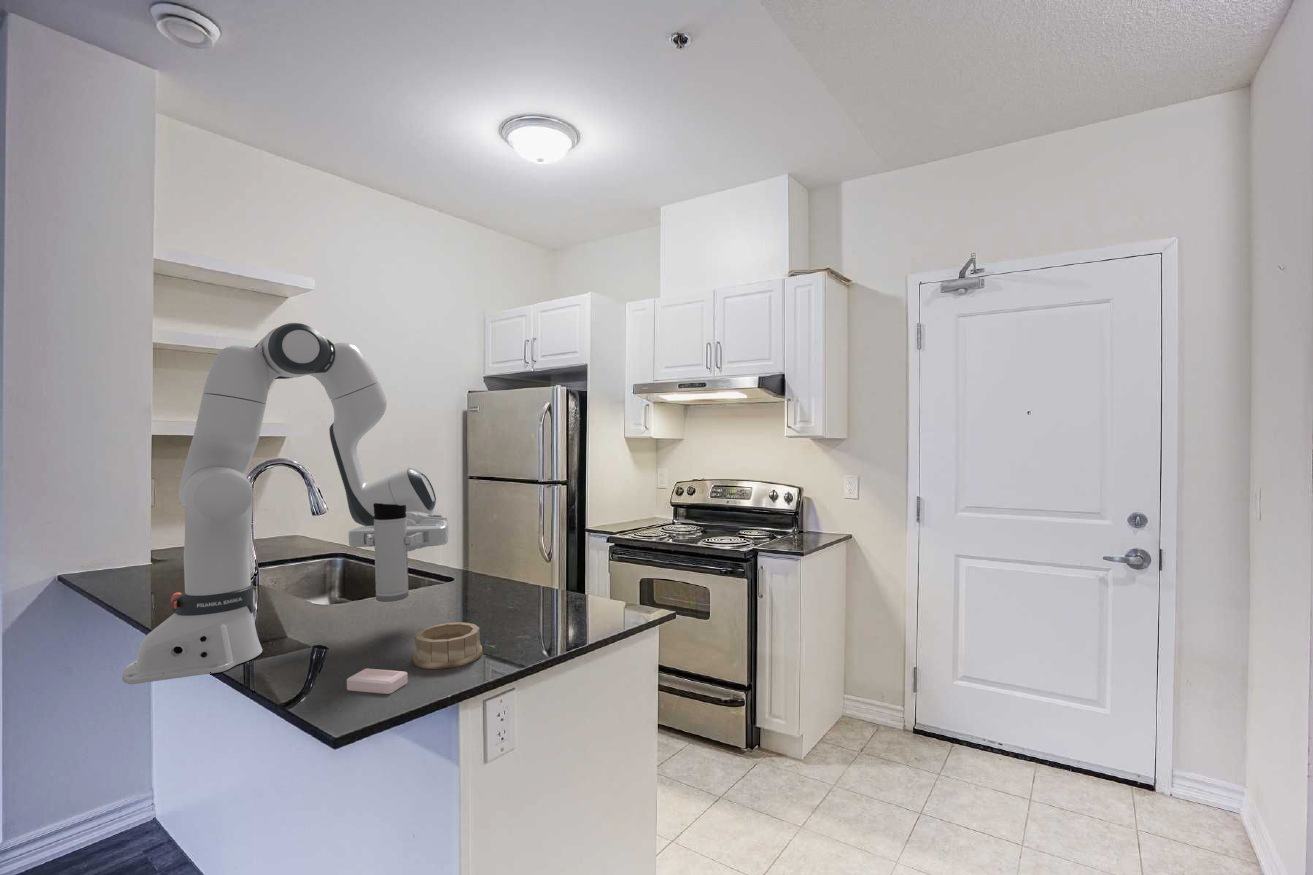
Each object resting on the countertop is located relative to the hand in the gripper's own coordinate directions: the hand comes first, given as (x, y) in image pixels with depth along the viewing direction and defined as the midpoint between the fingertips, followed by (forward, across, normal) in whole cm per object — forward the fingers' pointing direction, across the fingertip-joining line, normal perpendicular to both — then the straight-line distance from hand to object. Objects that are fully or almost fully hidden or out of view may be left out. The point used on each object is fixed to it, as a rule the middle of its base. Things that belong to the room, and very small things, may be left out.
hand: (389, 541), depth 133 cm
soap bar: (+18, +3, +23) cm, 30 cm away
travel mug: (-1, 0, +12) cm, 12 cm away
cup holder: (+5, +12, +22) cm, 26 cm away
